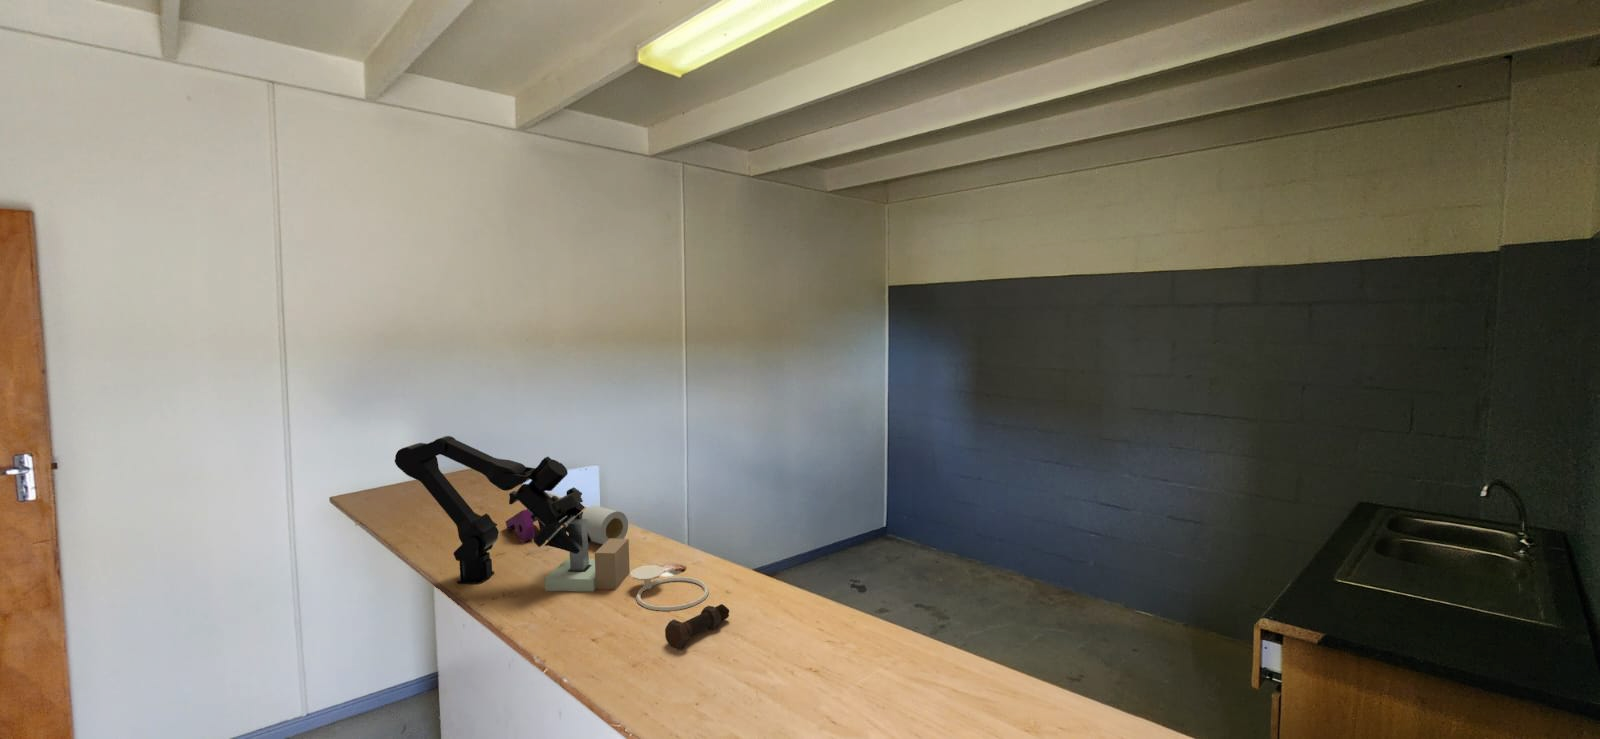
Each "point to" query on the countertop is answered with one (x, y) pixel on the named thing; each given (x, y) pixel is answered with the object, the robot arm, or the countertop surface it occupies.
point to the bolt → (694, 625)
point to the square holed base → (594, 570)
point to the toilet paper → (605, 524)
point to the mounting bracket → (523, 525)
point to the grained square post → (579, 545)
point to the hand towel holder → (654, 572)
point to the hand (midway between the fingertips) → (584, 546)
